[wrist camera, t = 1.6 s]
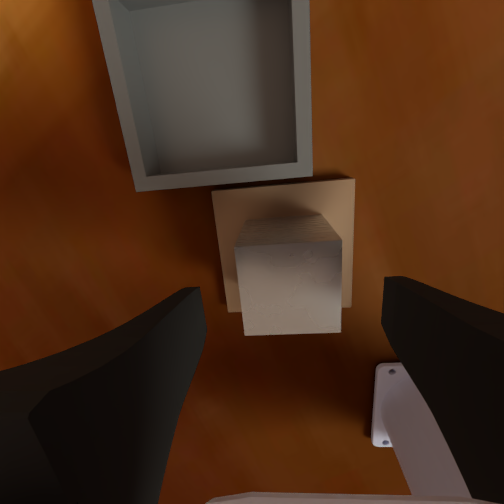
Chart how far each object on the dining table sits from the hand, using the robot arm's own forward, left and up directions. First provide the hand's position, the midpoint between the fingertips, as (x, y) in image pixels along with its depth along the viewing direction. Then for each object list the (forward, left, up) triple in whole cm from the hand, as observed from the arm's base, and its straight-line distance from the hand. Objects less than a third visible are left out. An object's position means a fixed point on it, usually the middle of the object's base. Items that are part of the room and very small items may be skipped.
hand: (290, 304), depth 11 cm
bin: (+3, -9, -7) cm, 12 cm away
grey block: (0, 0, -6) cm, 6 cm away
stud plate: (0, 0, -7) cm, 7 cm away
